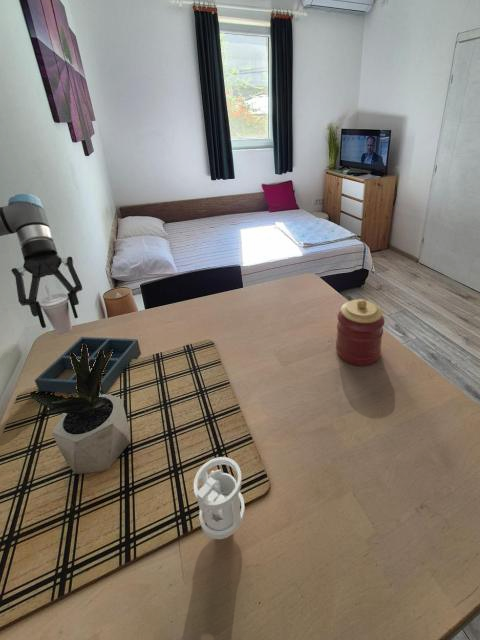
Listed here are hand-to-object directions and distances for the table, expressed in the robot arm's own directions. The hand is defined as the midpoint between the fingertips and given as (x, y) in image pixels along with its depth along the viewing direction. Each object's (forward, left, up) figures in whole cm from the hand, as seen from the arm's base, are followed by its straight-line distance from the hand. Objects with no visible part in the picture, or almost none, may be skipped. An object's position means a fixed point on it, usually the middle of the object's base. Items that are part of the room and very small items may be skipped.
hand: (60, 321), depth 84 cm
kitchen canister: (+79, +13, -16) cm, 82 cm away
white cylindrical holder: (+52, -35, -16) cm, 64 cm away
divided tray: (+6, -1, -16) cm, 17 cm away
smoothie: (-2, +3, -5) cm, 6 cm away
